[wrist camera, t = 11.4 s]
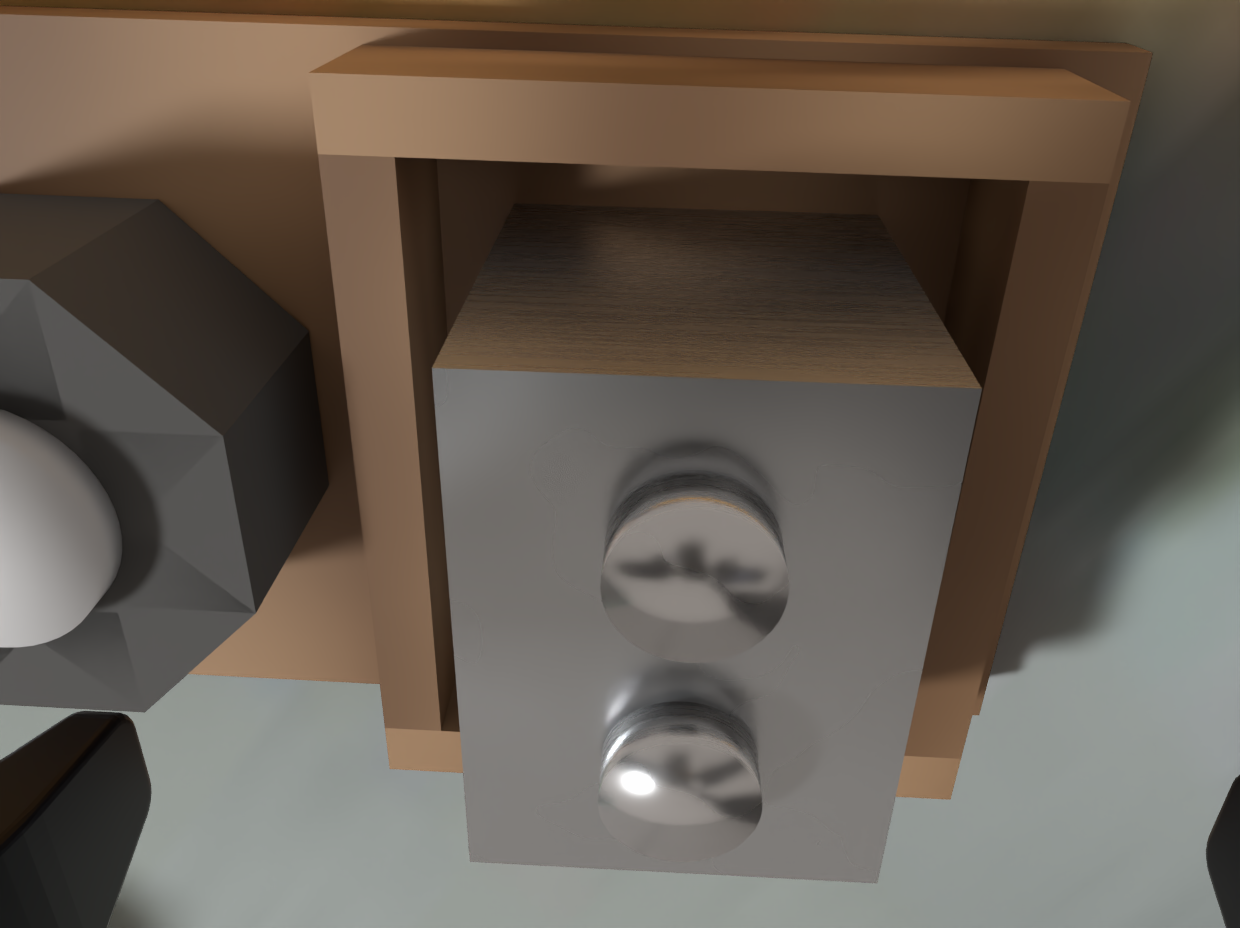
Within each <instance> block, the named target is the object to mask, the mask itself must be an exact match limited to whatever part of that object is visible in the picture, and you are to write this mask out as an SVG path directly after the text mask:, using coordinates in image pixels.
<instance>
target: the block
mask: <svg viewBox="0 0 1240 928" xmlns="http://www.w3.org/2000/svg"><path fill="white" fill-rule="evenodd" d="M432 377H433V390H434V403H435V416H436V429H437V442H438V455H439V468H440V481H441V494H442V507H443V519H444V532H445V545H446V558H447V571H448V584H449V597H450V610H451V623H452V636H453V648H454V661H455V674H456V687H457V700H458V713H459V726H460V739H461V752H462V765H463V778H464V790H465V803H466V816H467V829H468V842H469V855H470V862H485V863H504V864H523V865H542V866H561V867H580V868H598V869H617V870H636V871H655V872H674V873H693V874H712V875H730V876H749V877H768V878H787V879H806V880H825V881H844V882H862V883H877V882H878V877H879V872H880V868H881V863H882V858H883V854H884V849H885V844H886V839H887V835H888V830H889V825H890V821H891V816H892V811H893V806H894V802H895V797H896V792H897V787H898V783H899V778H900V773H901V769H902V764H903V759H904V754H905V750H906V745H907V740H908V736H909V731H910V726H911V721H912V717H913V712H914V707H915V703H916V698H917V693H918V688H919V684H920V679H921V674H922V670H923V665H924V660H925V655H926V651H927V646H928V641H929V636H930V632H931V627H932V622H933V618H934V613H935V608H936V603H937V599H938V594H939V589H940V585H941V580H942V575H943V570H944V566H945V561H946V556H947V552H948V547H949V542H950V537H951V533H952V528H953V523H954V519H955V514H956V509H957V504H958V500H959V495H960V490H961V485H962V481H963V476H964V471H965V467H966V462H967V457H968V452H969V448H970V443H971V438H972V434H973V429H974V424H975V419H976V415H977V410H978V405H979V401H980V396H981V391H982V388H981V386H980V384H979V383H978V381H977V379H976V378H975V376H974V374H973V373H972V371H971V369H970V368H969V366H968V364H967V363H966V361H965V359H964V358H963V356H962V354H961V353H960V351H959V349H958V348H957V346H956V344H955V343H954V341H953V339H952V338H951V336H950V334H949V333H948V331H947V329H946V328H945V326H944V324H943V323H942V321H941V319H940V318H939V316H938V314H937V313H936V311H935V309H934V308H933V306H932V304H931V303H930V301H929V299H928V298H927V296H926V294H925V293H924V291H923V289H922V288H921V286H920V284H919V283H918V281H917V279H916V278H915V276H914V274H913V273H912V271H911V269H910V267H909V266H908V264H907V262H906V261H905V259H904V257H903V256H902V254H901V252H900V251H899V249H898V247H897V246H896V244H895V242H894V241H893V239H892V237H891V236H890V234H889V232H888V231H887V229H886V227H885V226H884V224H883V222H882V221H881V219H880V217H879V216H878V215H869V214H838V213H807V212H776V211H745V210H714V209H683V208H652V207H621V206H589V205H558V204H527V203H514V205H513V207H512V209H511V211H510V213H509V215H508V217H507V219H506V221H505V223H504V225H503V227H502V229H501V231H500V233H499V235H498V237H497V239H496V241H495V243H494V245H493V247H492V249H491V251H490V253H489V255H488V257H487V259H486V261H485V263H484V265H483V267H482V269H481V271H480V273H479V275H478V277H477V279H476V281H475V283H474V285H473V287H472V289H471V291H470V293H469V295H468V297H467V299H466V301H465V303H464V305H463V307H462V309H461V311H460V313H459V315H458V317H457V319H456V321H455V323H454V325H453V327H452V329H451V331H450V333H449V335H448V337H447V339H446V341H445V343H444V345H443V347H442V349H441V351H440V353H439V355H438V357H437V359H436V361H435V363H434V365H433V367H432Z"/></svg>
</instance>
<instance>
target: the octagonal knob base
mask: <svg viewBox="0 0 1240 928" xmlns="http://www.w3.org/2000/svg"><path fill="white" fill-rule="evenodd" d="M328 487H329V480H328V472H327V465H326V457H325V449H324V442H323V434H322V427H321V419H320V412H319V404H318V397H317V389H316V381H315V374H314V366H313V359H312V351H311V344H310V336H309V331H308V330H307V329H306V328H305V327H304V326H303V325H301V324H300V323H299V322H298V321H297V320H296V319H295V318H293V317H292V316H291V315H290V314H289V313H288V312H287V311H285V310H284V309H283V308H282V307H281V306H280V305H279V304H277V303H276V302H275V301H274V300H273V299H272V298H271V297H269V296H268V295H267V294H266V293H265V292H264V291H263V290H261V289H260V288H259V287H258V286H257V285H256V284H255V283H253V282H252V281H251V280H250V279H249V278H248V277H247V276H245V275H244V274H243V273H242V272H241V271H240V270H239V269H237V268H236V267H235V266H234V265H233V264H232V263H231V262H229V261H228V260H227V259H226V258H225V257H224V256H223V255H221V254H220V253H219V252H218V251H217V250H216V249H215V248H213V247H212V246H211V245H210V244H209V243H208V242H207V241H206V240H204V239H203V238H202V237H201V236H200V235H199V234H198V233H196V232H195V231H194V230H193V229H192V228H191V227H190V226H188V225H187V224H186V223H185V222H184V221H183V220H182V219H180V218H179V217H178V216H177V215H176V214H175V213H174V212H172V211H171V210H170V209H169V208H168V207H167V206H166V205H164V204H163V203H162V202H161V201H160V200H159V199H133V198H107V197H81V196H56V195H30V194H4V193H0V705H19V706H37V707H56V708H75V709H93V710H112V711H131V712H146V711H147V710H148V709H149V708H150V707H151V706H152V705H154V704H155V703H156V702H157V701H158V700H159V699H160V698H161V697H163V696H164V695H165V694H166V693H167V692H168V691H169V690H170V689H172V688H173V687H174V686H175V685H176V684H177V683H178V682H179V681H181V680H182V679H183V678H184V677H185V676H186V675H187V674H188V673H190V672H191V671H192V670H193V669H194V668H195V667H196V666H197V665H198V664H200V663H201V662H202V661H203V660H204V659H205V658H206V657H207V656H209V655H210V654H211V653H212V652H213V651H214V650H215V649H216V648H218V647H219V646H220V645H221V644H222V643H223V642H224V641H225V640H227V639H228V638H229V637H230V636H231V635H232V634H233V633H234V632H236V631H237V630H238V629H239V628H240V627H241V626H242V625H243V624H244V623H246V622H247V621H248V620H249V619H250V618H251V617H252V616H253V615H255V614H256V612H257V611H258V609H259V607H260V605H261V604H262V602H263V600H264V598H265V597H266V595H267V593H268V591H269V590H270V588H271V586H272V584H273V583H274V581H275V579H276V577H277V576H278V574H279V572H280V570H281V569H282V567H283V565H284V564H285V562H286V560H287V558H288V557H289V555H290V553H291V551H292V550H293V548H294V546H295V544H296V543H297V541H298V539H299V537H300V536H301V534H302V532H303V530H304V529H305V527H306V525H307V523H308V522H309V520H310V518H311V516H312V515H313V513H314V511H315V509H316V508H317V506H318V504H319V503H320V501H321V499H322V497H323V496H324V494H325V492H326V490H327V489H328Z"/></svg>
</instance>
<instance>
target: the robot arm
mask: <svg viewBox="0 0 1240 928" xmlns="http://www.w3.org/2000/svg"><path fill="white" fill-rule="evenodd" d="M150 802H151V783H150V778H149V774H148V771H147V767H146V764H145V760H144V757H143V753H142V749H141V746H140V742H139V739H138V735H137V732H136V728H135V726H134V723H133V721H132V720H131V719H130V718H129V717H128V716H127V715H125V714H122V713H115V712H95V711H81V712H76V713H74V714H71V715H70V716H68V717H66V718H64V719H63V720H61V721H60V722H58V723H57V724H55V725H54V726H52V727H51V728H49V729H48V730H46V731H44V732H43V733H41V734H40V735H38V736H37V737H35V738H34V739H32V740H31V741H29V742H28V743H26V744H25V745H23V746H21V747H20V748H18V749H17V750H15V751H14V752H12V753H11V754H9V755H8V756H6V757H5V758H3V759H2V760H0V928H108V925H109V922H110V919H111V916H112V914H113V911H114V908H115V905H116V902H117V899H118V897H119V894H120V891H121V888H122V885H123V882H124V880H125V877H126V874H127V871H128V868H129V866H130V863H131V860H132V857H133V854H134V851H135V849H136V846H137V843H138V840H139V837H140V835H141V832H142V829H143V826H144V823H145V820H146V818H147V815H148V811H149V807H150ZM1206 860H1207V867H1208V871H1209V875H1210V878H1211V881H1212V884H1213V888H1214V891H1215V894H1216V897H1217V900H1218V904H1219V907H1220V910H1221V913H1222V916H1223V920H1224V923H1225V926H1226V928H1240V775H1239V776H1238V777H1237V778H1235V780H1234V782H1233V783H1232V786H1231V788H1230V790H1229V792H1228V795H1227V797H1226V799H1225V801H1224V804H1223V806H1222V808H1221V810H1220V813H1219V815H1218V817H1217V819H1216V822H1215V824H1214V826H1213V828H1212V831H1211V833H1210V835H1209V838H1208V842H1207V848H1206Z"/></svg>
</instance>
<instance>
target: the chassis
mask: <svg viewBox="0 0 1240 928" xmlns="http://www.w3.org/2000/svg"><path fill="white" fill-rule="evenodd" d="M1152 55H1153V53H1152V52H1149V51H1147V50H1144V49H1141V48H1138V47H1136V46H1133V45H1130V44H1127V43H1108V42H1078V41H1048V40H1018V39H988V38H958V37H928V36H898V35H868V34H838V33H808V32H778V31H748V30H718V29H688V28H658V27H628V26H598V25H568V24H538V23H508V22H478V21H448V20H418V19H387V18H357V17H327V16H297V15H267V14H237V13H207V12H177V11H147V10H117V9H87V8H57V7H27V6H0V193H4V194H30V195H56V196H81V197H107V198H133V199H159V200H160V201H161V202H162V203H163V204H164V205H166V206H167V207H168V208H169V209H170V210H171V211H172V212H174V213H175V214H176V215H177V216H178V217H179V218H180V219H182V220H183V221H184V222H185V223H186V224H187V225H188V226H190V227H191V228H192V229H193V230H194V231H195V232H196V233H198V234H199V235H200V236H201V237H202V238H203V239H204V240H206V241H207V242H208V243H209V244H210V245H211V246H212V247H213V248H215V249H216V250H217V251H218V252H219V253H220V254H221V255H223V256H224V257H225V258H226V259H227V260H228V261H229V262H231V263H232V264H233V265H234V266H235V267H236V268H237V269H239V270H240V271H241V272H242V273H243V274H244V275H245V276H247V277H248V278H249V279H250V280H251V281H252V282H253V283H255V284H256V285H257V286H258V287H259V288H260V289H261V290H263V291H264V292H265V293H266V294H267V295H268V296H269V297H271V298H272V299H273V300H274V301H275V302H276V303H277V304H279V305H280V306H281V307H282V308H283V309H284V310H285V311H287V312H288V313H289V314H290V315H291V316H292V317H293V318H295V319H296V320H297V321H298V322H299V323H300V324H301V325H303V326H304V327H305V328H306V329H307V330H308V331H309V336H310V344H311V351H312V359H313V366H314V374H315V381H316V389H317V397H318V404H319V412H320V419H321V427H322V434H323V442H324V449H325V457H326V465H327V472H328V480H329V487H328V489H327V490H326V492H325V494H324V496H323V497H322V499H321V501H320V503H319V504H318V506H317V508H316V509H315V511H314V513H313V515H312V516H311V518H310V520H309V522H308V523H307V525H306V527H305V529H304V530H303V532H302V534H301V536H300V537H299V539H298V541H297V543H296V544H295V546H294V548H293V550H292V551H291V553H290V555H289V557H288V558H287V560H286V562H285V564H284V565H283V567H282V569H281V570H280V572H279V574H278V576H277V577H276V579H275V581H274V583H273V584H272V586H271V588H270V590H269V591H268V593H267V595H266V597H265V598H264V600H263V602H262V604H261V605H260V607H259V609H258V611H257V612H256V614H255V615H253V616H252V617H251V618H250V619H249V620H248V621H247V622H246V623H244V624H243V625H242V626H241V627H240V628H239V629H238V630H237V631H236V632H234V633H233V634H232V635H231V636H230V637H229V638H228V639H227V640H225V641H224V642H223V643H222V644H221V645H220V646H219V647H218V648H216V649H215V650H214V651H213V652H212V653H211V654H210V655H209V656H207V657H206V658H205V659H204V660H203V661H202V662H201V663H200V664H198V665H197V666H196V667H195V668H194V669H193V670H192V671H191V672H190V673H188V674H199V675H218V676H237V677H257V678H276V679H295V680H314V681H333V682H352V683H371V684H380V689H381V697H382V706H383V714H384V723H385V732H386V740H387V749H388V757H389V766H390V769H402V770H420V771H439V772H457V773H463V765H462V752H461V739H460V726H459V713H458V700H457V687H456V674H455V661H454V648H453V636H452V623H451V610H450V597H449V584H448V571H447V558H446V545H445V532H444V519H443V507H442V494H441V481H440V468H439V455H438V442H437V429H436V416H435V403H434V390H433V377H432V367H433V365H434V363H435V361H436V359H437V357H438V355H439V353H440V351H441V349H442V347H443V345H444V343H445V341H446V339H447V337H448V335H449V333H450V331H451V329H452V327H453V325H454V323H455V321H456V319H457V317H458V315H459V313H460V311H461V309H462V307H463V305H464V303H465V301H466V299H467V297H468V295H469V293H470V291H471V289H472V287H473V285H474V283H475V281H476V279H477V277H478V275H479V273H480V271H481V269H482V267H483V265H484V263H485V261H486V259H487V257H488V255H489V253H490V251H491V249H492V247H493V245H494V243H495V241H496V239H497V237H498V235H499V233H500V231H501V229H502V227H503V225H504V223H505V221H506V219H507V217H508V215H509V213H510V211H511V209H512V207H513V205H514V203H527V204H558V205H589V206H621V207H652V208H683V209H714V210H745V211H776V212H807V213H838V214H869V215H878V216H879V217H880V219H881V221H882V222H883V224H884V226H885V227H886V229H887V231H888V232H889V234H890V236H891V237H892V239H893V241H894V242H895V244H896V246H897V247H898V249H899V251H900V252H901V254H902V256H903V257H904V259H905V261H906V262H907V264H908V266H909V267H910V269H911V271H912V273H913V274H914V276H915V278H916V279H917V281H918V283H919V284H920V286H921V288H922V289H923V291H924V293H925V294H926V296H927V298H928V299H929V301H930V303H931V304H932V306H933V308H934V309H935V311H936V313H937V314H938V316H939V318H940V319H941V321H942V323H943V324H944V326H945V328H946V329H947V331H948V333H949V334H950V336H951V338H952V339H953V341H954V343H955V344H956V346H957V348H958V349H959V351H960V353H961V354H962V356H963V358H964V359H965V361H966V363H967V364H968V366H969V368H970V369H971V371H972V373H973V374H974V376H975V378H976V379H977V381H978V383H979V384H980V386H981V388H982V391H981V396H980V401H979V405H978V410H977V415H976V419H975V424H974V429H973V434H972V438H971V443H970V448H969V452H968V457H967V462H966V467H965V471H964V476H963V481H962V485H961V490H960V495H959V500H958V504H957V509H956V514H955V519H954V523H953V528H952V533H951V537H950V542H949V547H948V552H947V556H946V561H945V566H944V570H943V575H942V580H941V585H940V589H939V594H938V599H937V603H936V608H935V613H934V618H933V622H932V627H931V632H930V636H929V641H928V646H927V651H926V655H925V660H924V665H923V670H922V674H921V679H920V684H919V688H918V693H917V698H916V703H915V707H914V712H913V717H912V721H911V726H910V731H909V736H908V740H907V745H906V750H905V754H904V759H903V764H902V769H901V773H900V778H899V783H898V787H897V792H896V797H913V798H931V799H951V795H952V791H953V787H954V783H955V780H956V776H957V772H958V768H959V764H960V760H961V756H962V752H963V749H964V745H965V741H966V737H967V733H968V729H969V725H970V721H971V718H972V715H979V713H980V710H981V706H982V702H983V698H984V694H985V691H986V687H987V683H988V679H989V675H990V671H991V668H992V664H993V660H994V656H995V652H996V649H997V645H998V641H999V637H1000V633H1001V630H1002V626H1003V622H1004V618H1005V614H1006V611H1007V607H1008V603H1009V599H1010V595H1011V592H1012V588H1013V584H1014V580H1015V576H1016V572H1017V569H1018V565H1019V561H1020V557H1021V553H1022V550H1023V546H1024V542H1025V538H1026V534H1027V531H1028V527H1029V523H1030V519H1031V515H1032V512H1033V508H1034V504H1035V500H1036V496H1037V493H1038V489H1039V485H1040V481H1041V477H1042V474H1043V470H1044V466H1045V462H1046V458H1047V454H1048V451H1049V447H1050V443H1051V439H1052V435H1053V432H1054V428H1055V424H1056V420H1057V416H1058V413H1059V409H1060V405H1061V401H1062V397H1063V394H1064V390H1065V386H1066V382H1067V378H1068V375H1069V371H1070V367H1071V363H1072V359H1073V356H1074V352H1075V348H1076V344H1077V340H1078V336H1079V333H1080V329H1081V325H1082V321H1083V317H1084V314H1085V310H1086V306H1087V302H1088V298H1089V295H1090V291H1091V287H1092V283H1093V279H1094V276H1095V272H1096V268H1097V264H1098V260H1099V257H1100V253H1101V249H1102V245H1103V241H1104V238H1105V234H1106V230H1107V226H1108V222H1109V218H1110V215H1111V211H1112V207H1113V203H1114V199H1115V196H1116V192H1117V188H1118V184H1119V180H1120V177H1121V173H1122V169H1123V165H1124V161H1125V158H1126V154H1127V150H1128V146H1129V142H1130V139H1131V135H1132V131H1133V127H1134V123H1135V120H1136V116H1137V112H1138V108H1139V104H1140V100H1141V97H1142V93H1143V89H1144V85H1145V81H1146V78H1147V74H1148V70H1149V66H1150V62H1151V59H1152Z"/></svg>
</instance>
